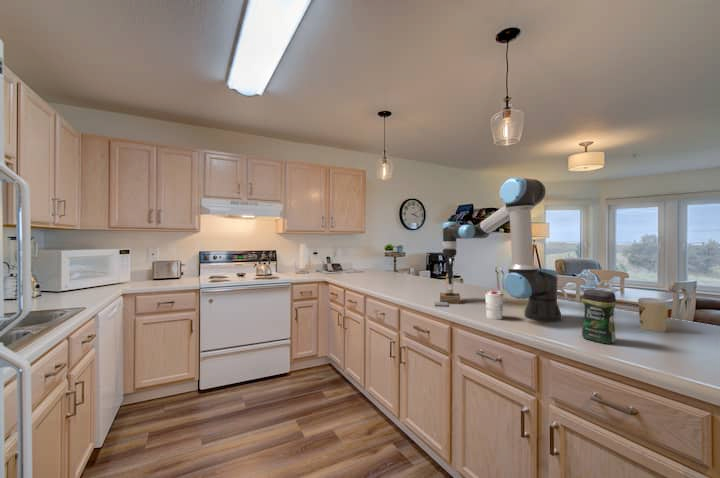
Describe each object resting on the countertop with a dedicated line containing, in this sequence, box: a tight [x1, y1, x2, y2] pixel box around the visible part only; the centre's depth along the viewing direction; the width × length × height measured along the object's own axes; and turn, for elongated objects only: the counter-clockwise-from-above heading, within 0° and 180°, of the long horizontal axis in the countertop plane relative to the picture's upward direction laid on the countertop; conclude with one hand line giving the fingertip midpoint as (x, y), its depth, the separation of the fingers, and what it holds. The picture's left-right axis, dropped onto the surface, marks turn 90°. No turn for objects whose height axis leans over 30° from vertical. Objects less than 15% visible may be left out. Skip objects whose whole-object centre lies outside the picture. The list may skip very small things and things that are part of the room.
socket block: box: [439, 292, 461, 305], centre depth 184 cm, size 11×11×4 cm
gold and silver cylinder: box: [445, 273, 454, 296], centre depth 184 cm, size 4×4×14 cm
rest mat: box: [434, 301, 449, 308], centre depth 176 cm, size 7×7×1 cm
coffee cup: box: [637, 297, 670, 333], centre depth 130 cm, size 9×9×12 cm
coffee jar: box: [581, 288, 617, 344], centre depth 117 cm, size 10×8×19 cm
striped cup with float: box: [484, 290, 505, 321], centre depth 149 cm, size 10×8×12 cm
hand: (449, 288), depth 184 cm, fingers closed on gold and silver cylinder, 4 cm apart
